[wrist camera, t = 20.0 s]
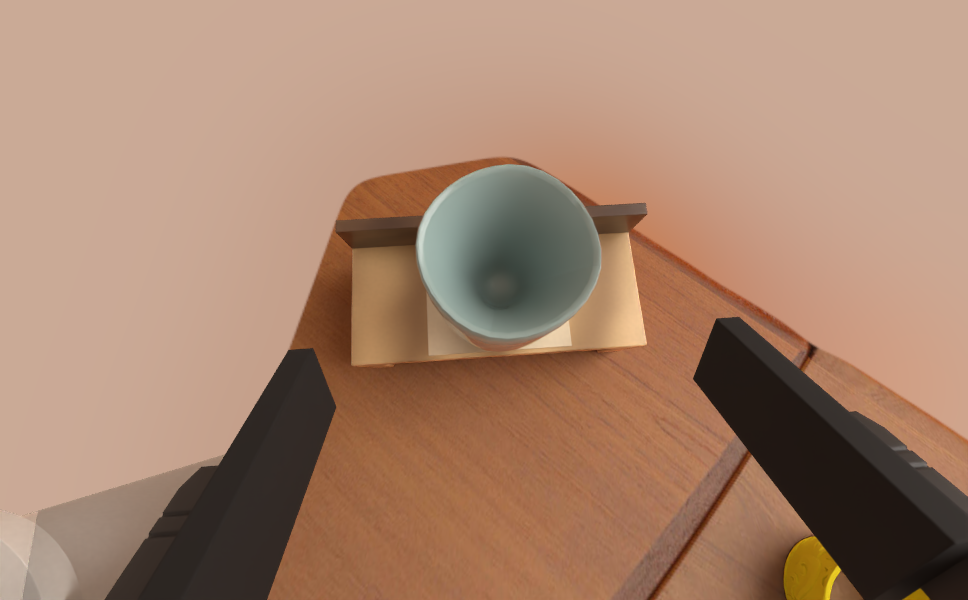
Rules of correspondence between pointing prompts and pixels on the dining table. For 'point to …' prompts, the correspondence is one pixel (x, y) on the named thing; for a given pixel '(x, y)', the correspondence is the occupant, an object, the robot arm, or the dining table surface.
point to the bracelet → (816, 573)
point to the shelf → (424, 334)
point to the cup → (507, 256)
